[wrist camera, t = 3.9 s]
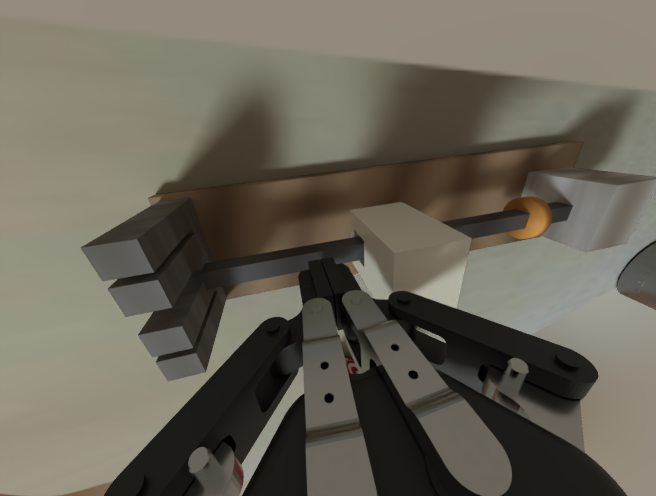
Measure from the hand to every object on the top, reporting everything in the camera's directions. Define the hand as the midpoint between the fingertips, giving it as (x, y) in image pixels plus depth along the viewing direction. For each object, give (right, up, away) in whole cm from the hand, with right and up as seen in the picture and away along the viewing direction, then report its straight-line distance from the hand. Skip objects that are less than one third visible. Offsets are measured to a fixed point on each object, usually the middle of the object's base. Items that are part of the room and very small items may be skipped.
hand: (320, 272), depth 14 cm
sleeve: (+4, +3, +4) cm, 6 cm away
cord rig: (+6, +4, +7) cm, 10 cm away
